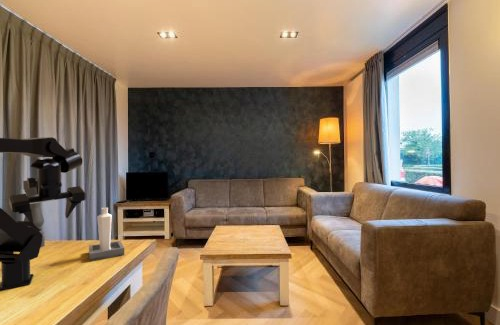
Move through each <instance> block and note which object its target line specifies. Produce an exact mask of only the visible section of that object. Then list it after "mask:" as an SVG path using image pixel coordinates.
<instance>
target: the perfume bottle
mask: <svg viewBox="0 0 500 325" xmlns="http://www.w3.org/2000/svg"><path fill="white" fill-rule="evenodd" d="M112 216H113V215H112V214H111V213H109V207H101V213H100V214H99V215H98V216H96V220H97V228H98V229H97V230H98V239H99V244H100V250H99V251H104V250H110V249H111V247H110V242H112V241H111V240H112V238H111V236H112V223H113V222H112V220H113V219H112V218H113V217H112Z"/></svg>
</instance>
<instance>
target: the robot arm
mask: <svg viewBox="0 0 500 325" xmlns="http://www.w3.org/2000/svg"><path fill="white" fill-rule="evenodd" d="M0 153H1V154H2V153H3V154H5V153H6V154H19V155H22V156H27V157H32V158H37V159H36V160H35V161H34V162H32V163H31V164H30V168H32V169H33V168H34V169H37V179H36V177H27V178H26V180H27V186H28V188H35V190H36V193H37V194H38V196H36V197H29V198H28V197H27V194H26V193H20V194H12V195H10V197H8V204H9V207H10V209H11V212H12V213H18V214H19V215H21V214H22V215H24V217H25V216H26V217H27V218H28V220H29V221H24V220H16V219H14V218H13V217H12V216H11V215H10V214H9V213H7V211H5V210H4V209H3V208H2V207H0V264H1V266H0V267H1V282H0V291H2V290H7V289H12V288H16V287H22V286H28V285H30V284H31V283H32V280H33V278H34V273H31V260H34V259H37V258H38V257H39V253H40V251H41V248H42V247H41V244H42V237H43V236H44V234H43V235H42V233H41V232H40V231H42V228H41V229H39V228H37V227H36V226H35V224H34V223H33V217H32V212H31V209H30V204H34V203H40V204H41V203H46V202H51V201H55V200H57V201H58V200H62V199H64V200H66V202H65V204H66V205H65V213H64V214H65V215H64V216H65V218H66V219H68V218H69V217H70V215H71V214H72V212H73V210H74V209H75V208H76V207H77V206H78V205H79V204H81V203H82V202H83V201H86V198H87V194H86V192H85V191H84V189H83V188H82V187H81V186H80V185H79V186H71V187H67V188H66V191H65V192H62V186H63V184H62V173H63V174H65V173H68V172H71V171H73V170H75V169H78V168H80V167H81V166H82V165H83V158H82V157H81V155H80V153H78V152H76V151H75V148H74V147H73V148H64V147H63V146H62V145H61V144H60V143H59V142H58V141H57V139H56V138H54V137H48V136H47V137H29V138H27V137H26V138H20V139H19V138H8V137H5V138H4V137H0ZM41 158H43V159H41ZM40 247H41V248H40Z"/></svg>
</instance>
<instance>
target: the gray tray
mask: <svg viewBox="0 0 500 325" xmlns="http://www.w3.org/2000/svg"><path fill="white" fill-rule="evenodd" d="M110 247H111V249H110V250H104V251H99V250H100V243H97V244H96V243H95V244H91V245H88V254H89V261H90V262H93V261H98V260H105V259H110V258H115V257H122V256H125V247H124V245H123V243H122V242H121V240H116V241H110Z"/></svg>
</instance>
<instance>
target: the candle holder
mask: <svg viewBox="0 0 500 325" xmlns="http://www.w3.org/2000/svg"><path fill="white" fill-rule="evenodd" d="M22 188H23V190H24V194H26V195H27V197H28V198H29V197H36V196H38V194H37V193H36V190H35V188H28V186H27V179H26V180H23V182H22ZM30 209H31V212H32V217H33V223H34V224H35V226H36V227H37V228H39V229H41V231H40V232H41V233H42V235H43V237H42V244H41V247H40V249H41V248H43V247H45V244H46V243H45V242H46V241H45V236H44V231H42V226H43V225H44V223H45V218H44V216H43V213H42V209H41V202H40V203H34V204H30ZM23 221H29V220H28V218H27V217H26V216H25V215H24V219H23Z"/></svg>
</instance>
